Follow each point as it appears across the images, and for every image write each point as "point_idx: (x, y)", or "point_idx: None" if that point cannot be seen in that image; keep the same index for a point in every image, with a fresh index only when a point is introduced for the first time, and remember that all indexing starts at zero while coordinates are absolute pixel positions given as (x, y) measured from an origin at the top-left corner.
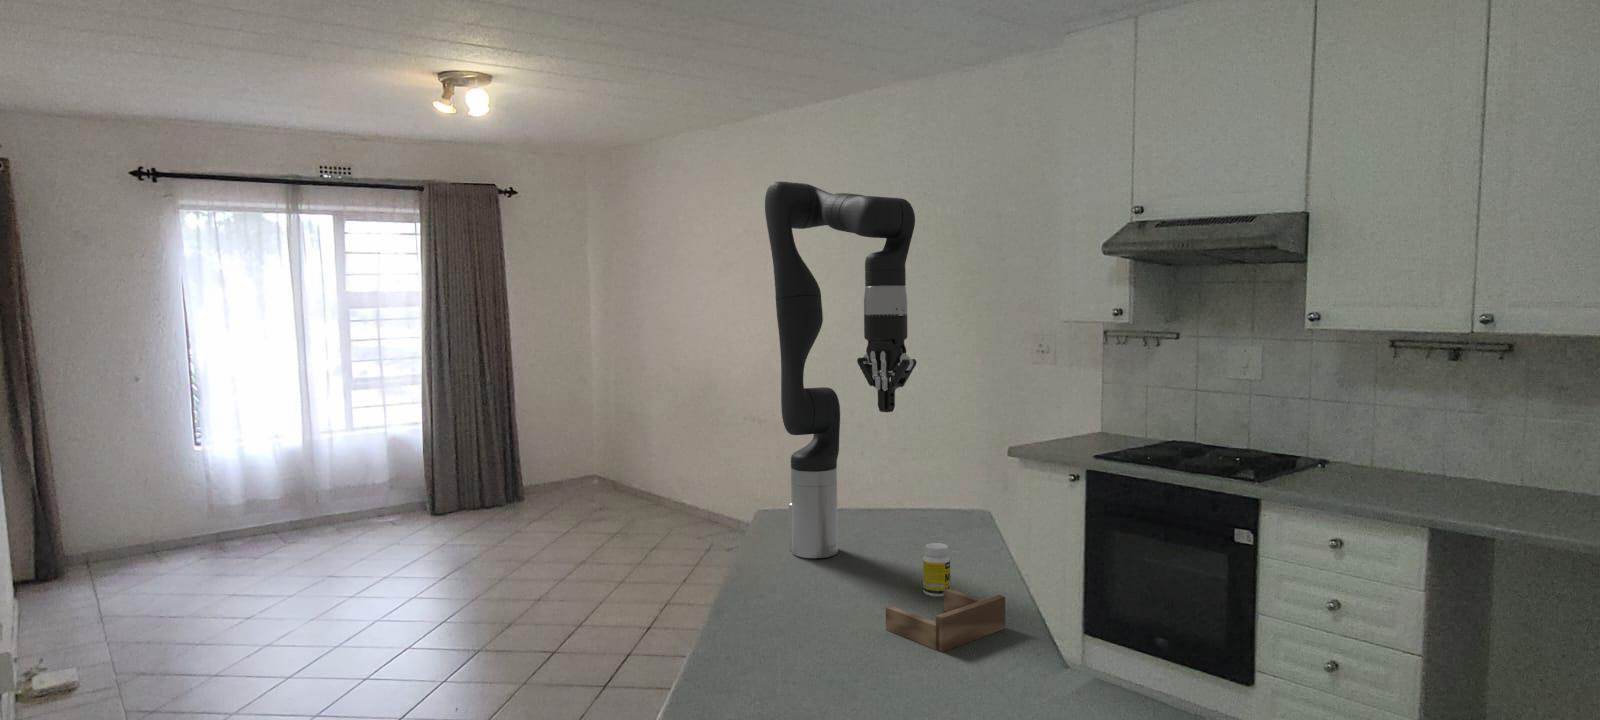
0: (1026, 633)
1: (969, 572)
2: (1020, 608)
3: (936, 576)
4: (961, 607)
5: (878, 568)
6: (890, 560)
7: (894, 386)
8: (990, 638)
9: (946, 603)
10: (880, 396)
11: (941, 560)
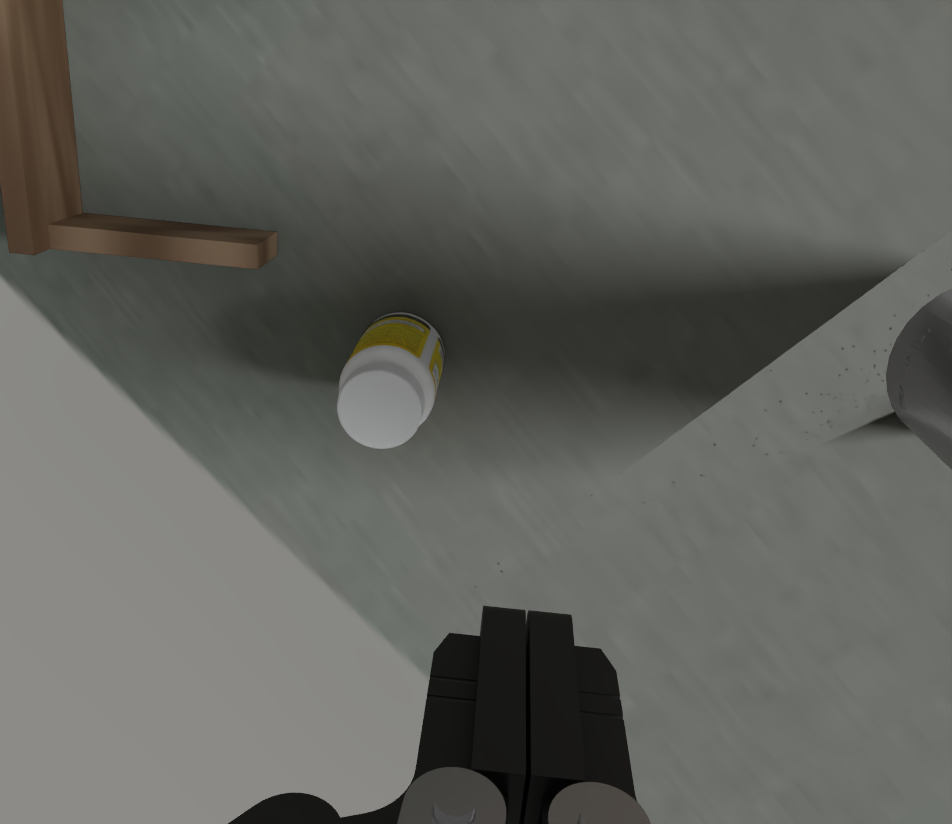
0: (4, 243)
1: (459, 569)
2: (151, 402)
3: (364, 339)
4: (8, 54)
5: (707, 425)
6: (729, 516)
7: (255, 816)
8: None
9: (257, 235)
10: (549, 720)
11: (345, 373)
